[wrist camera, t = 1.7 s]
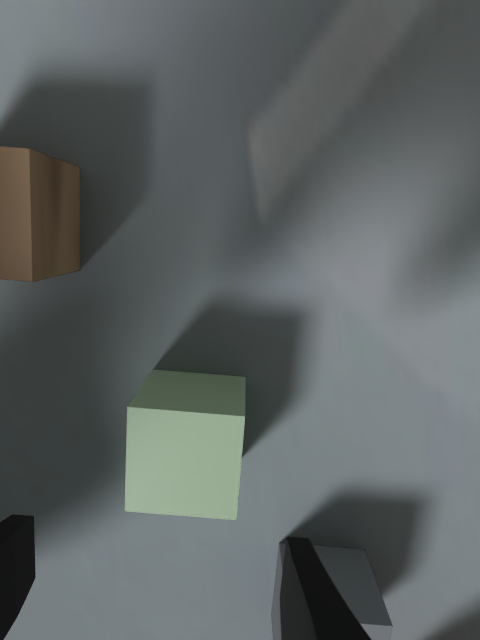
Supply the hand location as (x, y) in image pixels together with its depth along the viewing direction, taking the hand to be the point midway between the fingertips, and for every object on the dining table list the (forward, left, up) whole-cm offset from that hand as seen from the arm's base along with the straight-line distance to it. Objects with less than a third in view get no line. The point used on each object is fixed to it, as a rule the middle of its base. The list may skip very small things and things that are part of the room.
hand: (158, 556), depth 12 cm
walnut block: (-8, +9, -9) cm, 15 cm away
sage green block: (0, 0, -9) cm, 9 cm away
